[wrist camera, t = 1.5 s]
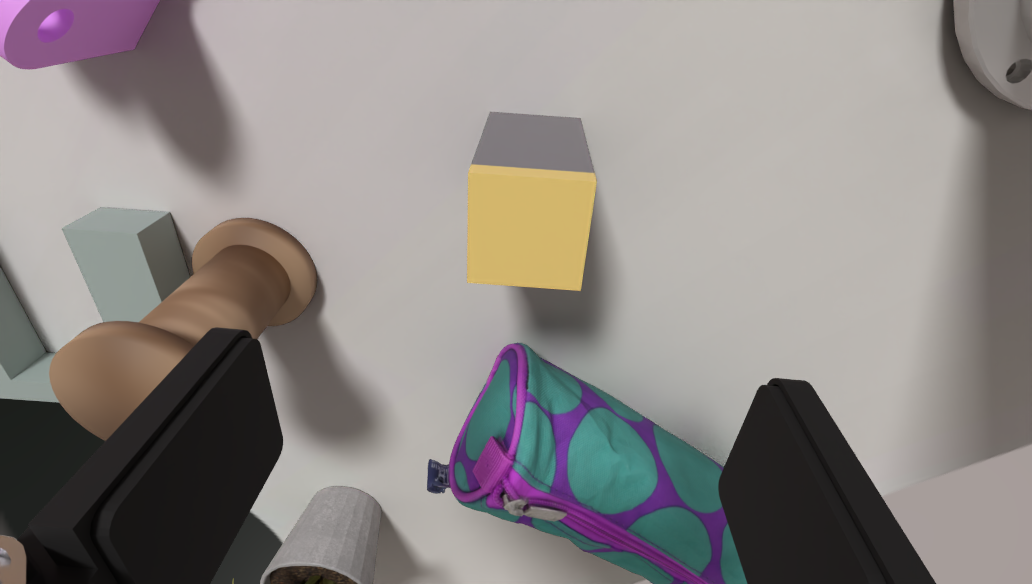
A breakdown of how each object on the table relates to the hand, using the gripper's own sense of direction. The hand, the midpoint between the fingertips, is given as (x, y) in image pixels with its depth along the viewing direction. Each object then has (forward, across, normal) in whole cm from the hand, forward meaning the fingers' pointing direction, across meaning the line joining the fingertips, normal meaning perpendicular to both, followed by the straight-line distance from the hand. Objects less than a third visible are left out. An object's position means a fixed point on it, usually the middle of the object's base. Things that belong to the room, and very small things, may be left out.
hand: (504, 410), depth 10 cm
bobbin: (+16, +14, +8) cm, 22 cm away
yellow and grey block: (+16, 0, 0) cm, 16 cm away
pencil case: (+17, -7, +18) cm, 25 cm away
